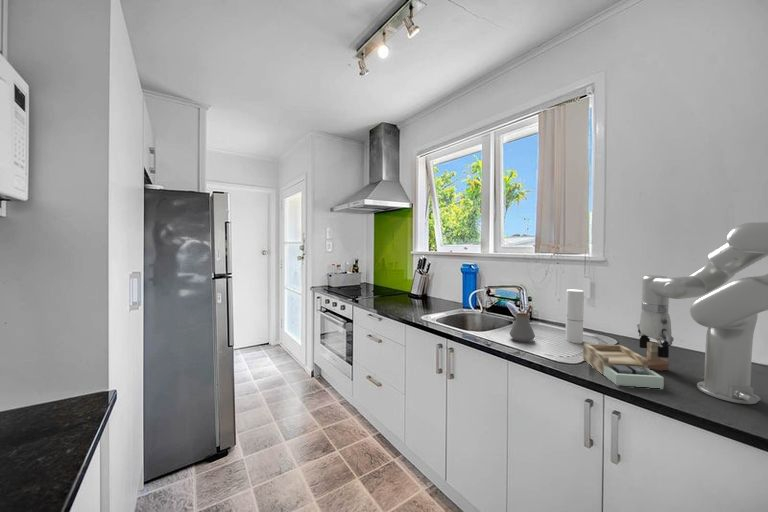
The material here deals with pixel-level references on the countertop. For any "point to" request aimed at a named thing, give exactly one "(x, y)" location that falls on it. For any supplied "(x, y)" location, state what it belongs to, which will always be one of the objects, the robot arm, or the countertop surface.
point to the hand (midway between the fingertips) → (653, 352)
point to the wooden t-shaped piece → (655, 357)
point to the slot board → (611, 356)
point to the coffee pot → (522, 328)
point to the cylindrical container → (574, 315)
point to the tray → (635, 379)
